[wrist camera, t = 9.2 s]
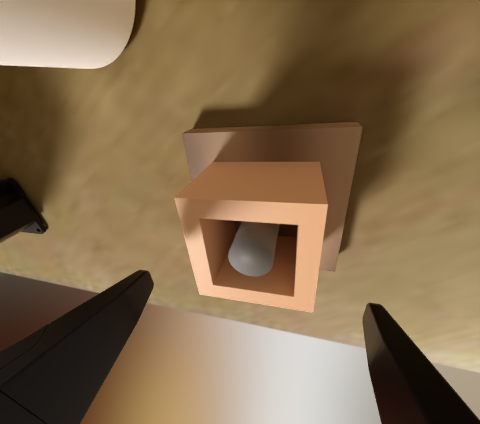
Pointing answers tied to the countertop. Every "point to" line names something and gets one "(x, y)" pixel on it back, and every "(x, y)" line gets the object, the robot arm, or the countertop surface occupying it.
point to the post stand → (282, 150)
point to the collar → (256, 210)
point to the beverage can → (64, 32)
